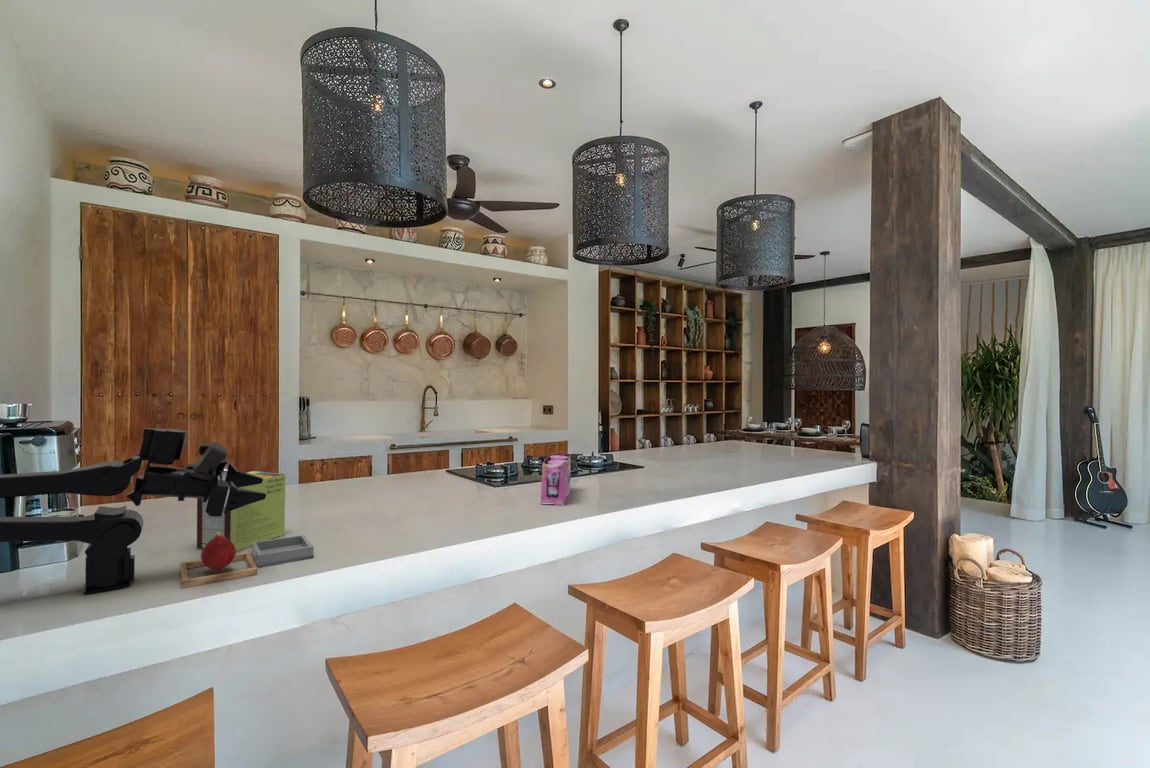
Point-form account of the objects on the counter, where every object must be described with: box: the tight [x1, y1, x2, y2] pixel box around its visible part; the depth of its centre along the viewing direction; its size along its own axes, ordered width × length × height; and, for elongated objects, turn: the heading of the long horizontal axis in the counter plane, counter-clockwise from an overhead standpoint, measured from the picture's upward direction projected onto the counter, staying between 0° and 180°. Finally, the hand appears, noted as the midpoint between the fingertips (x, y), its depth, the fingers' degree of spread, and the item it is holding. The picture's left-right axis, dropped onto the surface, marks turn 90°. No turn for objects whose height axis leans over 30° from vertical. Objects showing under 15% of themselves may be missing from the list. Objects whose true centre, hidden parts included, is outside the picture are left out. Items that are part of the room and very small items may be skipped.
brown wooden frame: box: [180, 551, 258, 589], centre depth 107 cm, size 12×12×1 cm
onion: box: [200, 532, 237, 573], centre depth 107 cm, size 6×6×8 cm
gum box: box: [540, 453, 572, 505], centre depth 179 cm, size 24×8×14 cm, turn 176°
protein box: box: [196, 470, 286, 552], centre depth 127 cm, size 10×15×16 cm
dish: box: [251, 534, 314, 568], centre depth 117 cm, size 11×11×2 cm
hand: (264, 488), depth 114 cm, fingers open, 9 cm apart
